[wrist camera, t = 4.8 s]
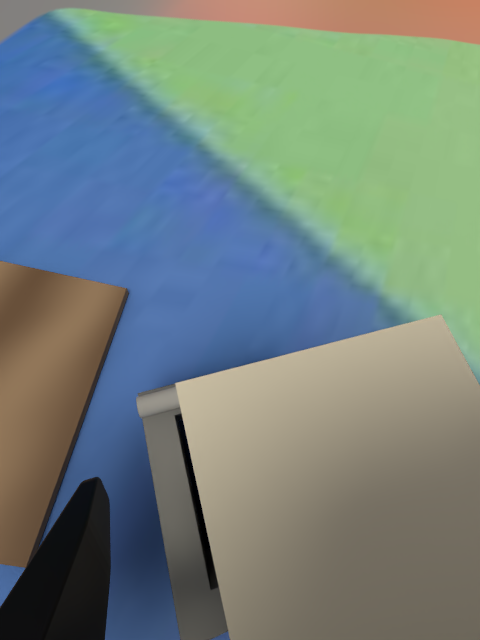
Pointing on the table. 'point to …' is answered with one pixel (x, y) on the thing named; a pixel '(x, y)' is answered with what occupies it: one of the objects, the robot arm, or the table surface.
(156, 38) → the table surface
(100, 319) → the board
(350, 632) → the tall pillar on plate
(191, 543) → the grey hollow square frame
